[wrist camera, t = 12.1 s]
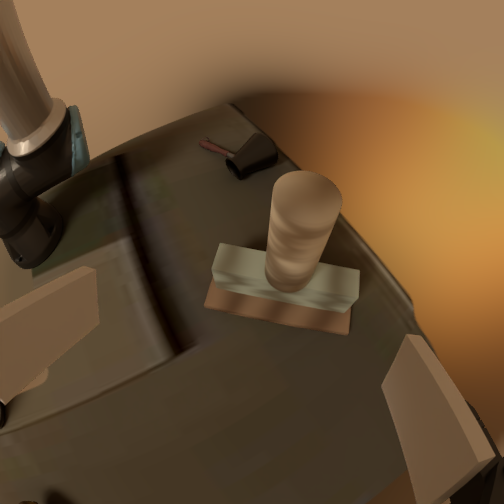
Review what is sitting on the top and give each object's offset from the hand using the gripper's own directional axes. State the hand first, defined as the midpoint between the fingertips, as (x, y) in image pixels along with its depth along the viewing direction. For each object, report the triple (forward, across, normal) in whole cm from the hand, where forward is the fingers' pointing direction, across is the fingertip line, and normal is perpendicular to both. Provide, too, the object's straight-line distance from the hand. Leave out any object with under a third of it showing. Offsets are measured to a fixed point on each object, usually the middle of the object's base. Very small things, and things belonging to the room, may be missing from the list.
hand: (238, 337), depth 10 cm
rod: (+24, +3, -5) cm, 25 cm away
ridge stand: (+29, +3, -10) cm, 31 cm away
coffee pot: (+50, -12, +9) cm, 52 cm away
